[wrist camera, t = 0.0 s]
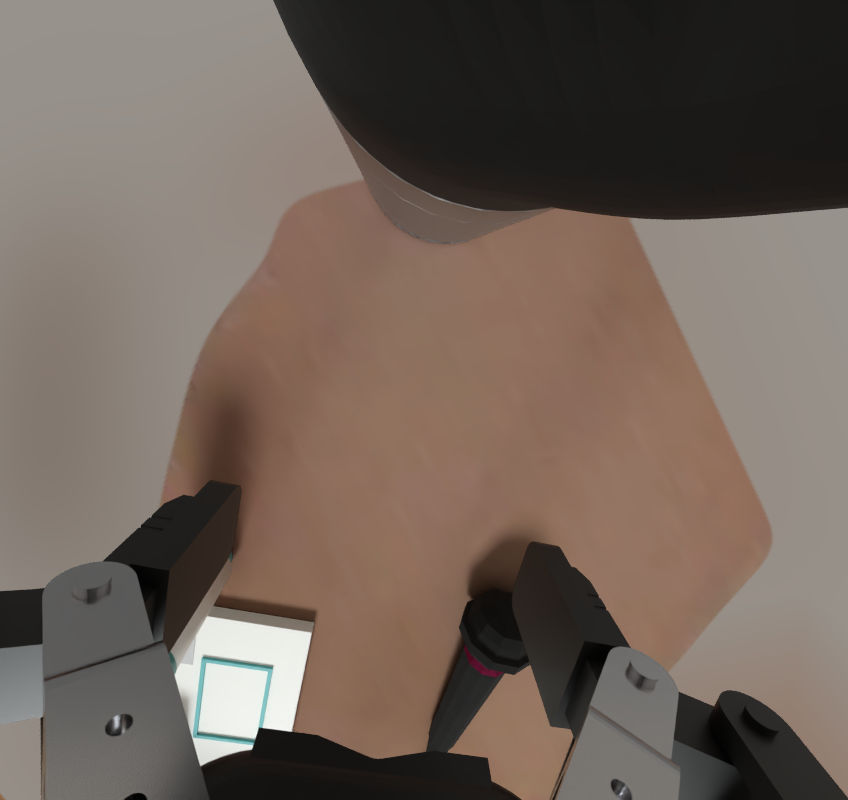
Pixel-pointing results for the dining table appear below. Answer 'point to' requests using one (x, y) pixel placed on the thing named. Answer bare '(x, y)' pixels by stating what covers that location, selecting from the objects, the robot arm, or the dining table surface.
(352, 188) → the dining table surface
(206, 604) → the marker
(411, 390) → the dining table surface
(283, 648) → the white flat rectangular panel
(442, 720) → the microphone
